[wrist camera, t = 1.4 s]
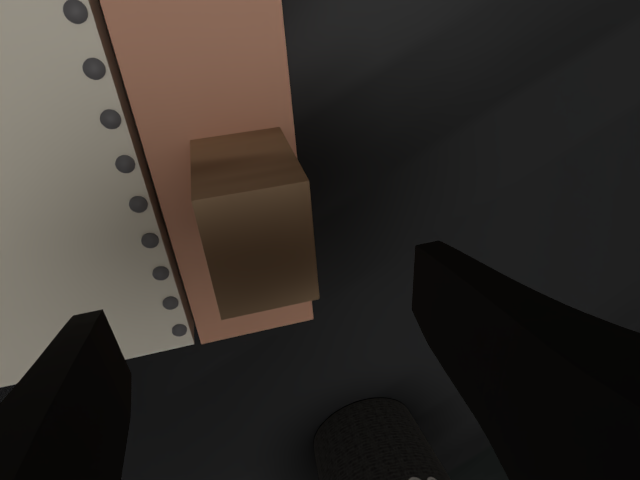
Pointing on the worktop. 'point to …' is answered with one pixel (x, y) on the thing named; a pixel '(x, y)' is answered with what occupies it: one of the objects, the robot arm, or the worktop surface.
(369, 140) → the worktop surface
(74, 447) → the robot arm
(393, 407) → the coffee cup
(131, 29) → the stub
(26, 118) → the pad
